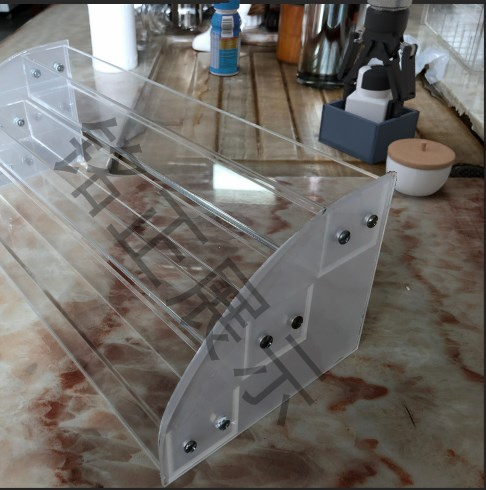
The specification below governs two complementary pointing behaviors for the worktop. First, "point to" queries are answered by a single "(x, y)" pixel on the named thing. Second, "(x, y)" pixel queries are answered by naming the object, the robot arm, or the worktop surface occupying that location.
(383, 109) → the container
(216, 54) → the beverage bottle
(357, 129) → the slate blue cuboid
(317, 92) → the worktop surface
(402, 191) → the trinket box
